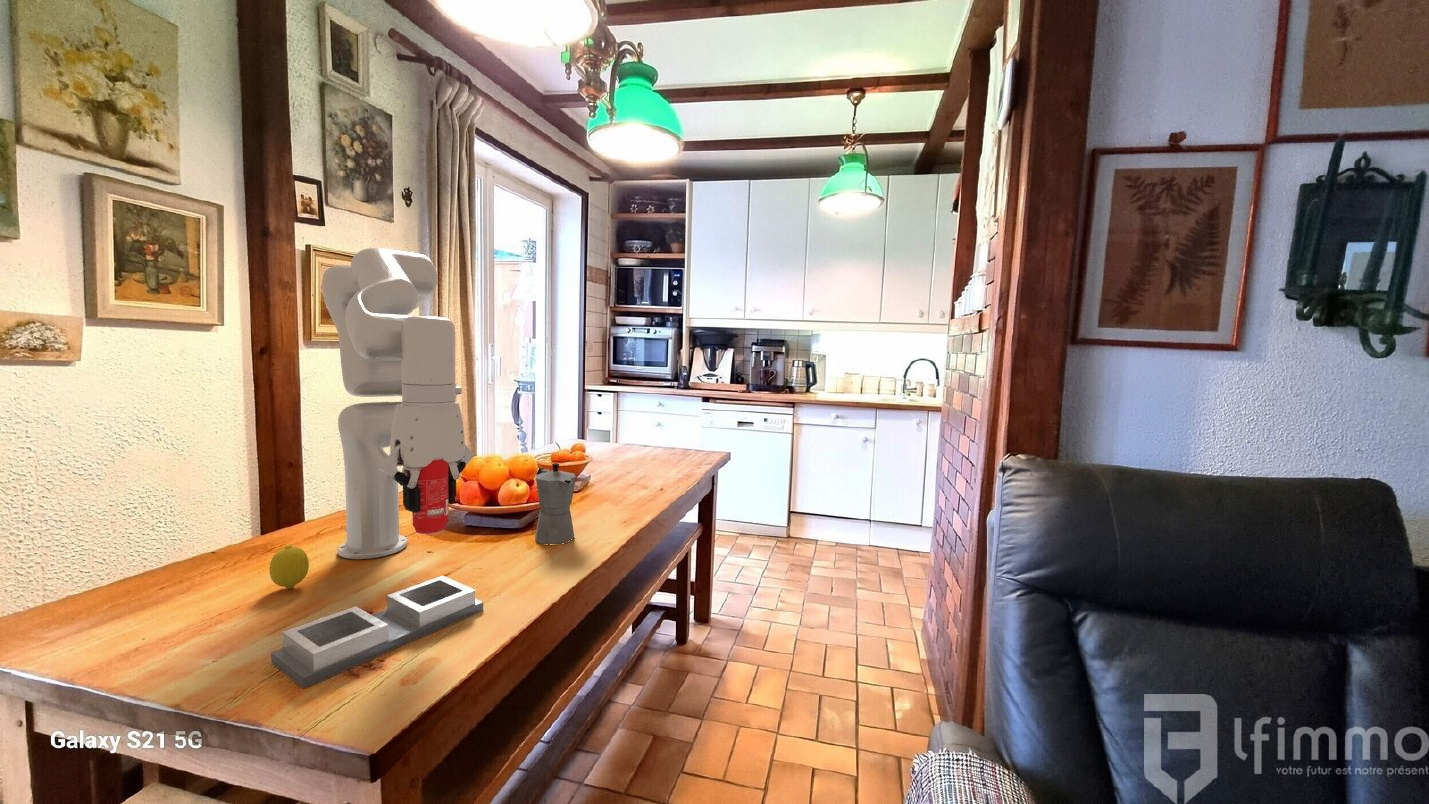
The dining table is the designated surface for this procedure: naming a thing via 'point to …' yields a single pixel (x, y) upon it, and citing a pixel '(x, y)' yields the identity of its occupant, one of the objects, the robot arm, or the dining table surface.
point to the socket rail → (372, 630)
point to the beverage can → (432, 498)
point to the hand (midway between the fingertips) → (430, 505)
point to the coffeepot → (554, 505)
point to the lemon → (289, 566)
